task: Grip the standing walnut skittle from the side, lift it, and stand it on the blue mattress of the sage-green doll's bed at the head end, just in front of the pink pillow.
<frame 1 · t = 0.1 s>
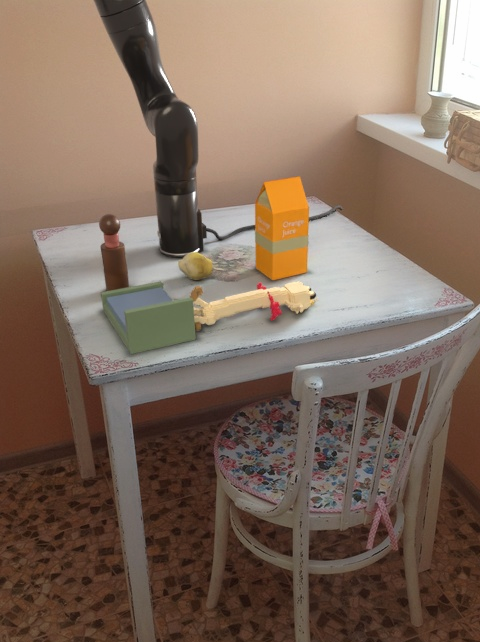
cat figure: (255, 316, 135), on the table
skittle: (118, 291, 143), on the table
orange juice: (281, 270, 153), on the table
fruit: (201, 277, 149), on the table
bed: (147, 324, 131), on the table
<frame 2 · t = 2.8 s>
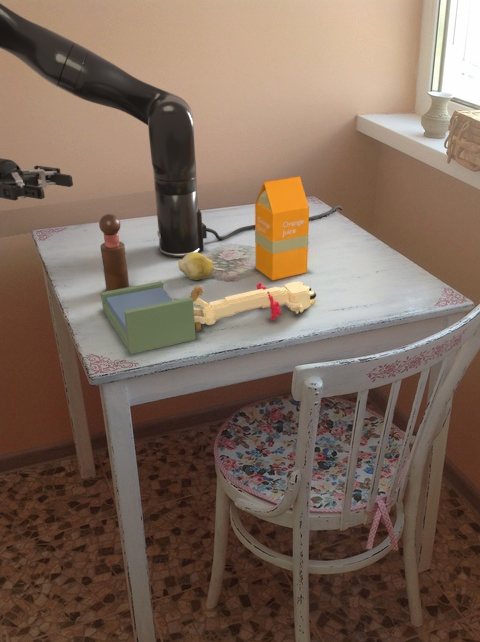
hand: (57, 187, 135), 20 cm above the table, tool horizontal, fingers open, 8 cm apart
nothing on the table moved.
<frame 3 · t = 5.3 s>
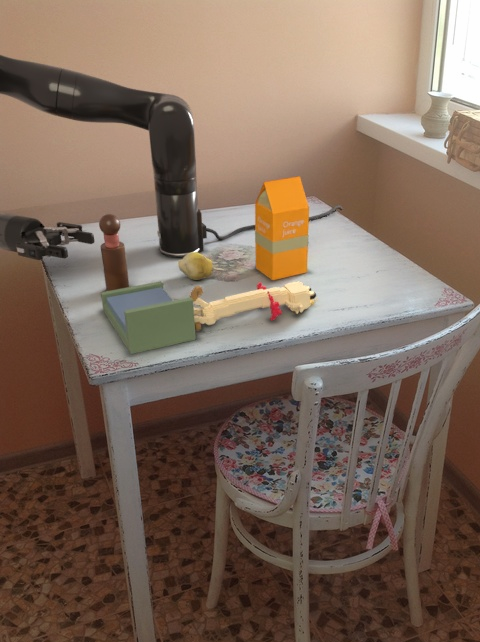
hand: (80, 245, 141), 9 cm above the table, tool horizontal, fingers open, 8 cm apart
nothing on the table moved.
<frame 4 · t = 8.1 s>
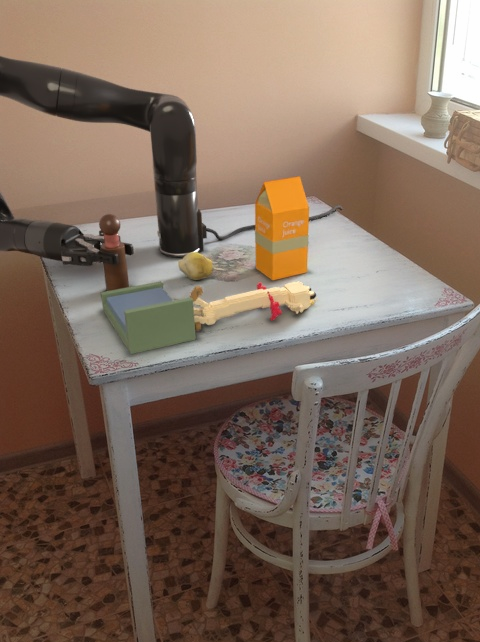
hand: (124, 254, 137), 9 cm above the table, tool horizontal, fingers closed on skittle, 4 cm apart
skittle: (118, 291, 143), on the table, touching gripper
everything else where it was.
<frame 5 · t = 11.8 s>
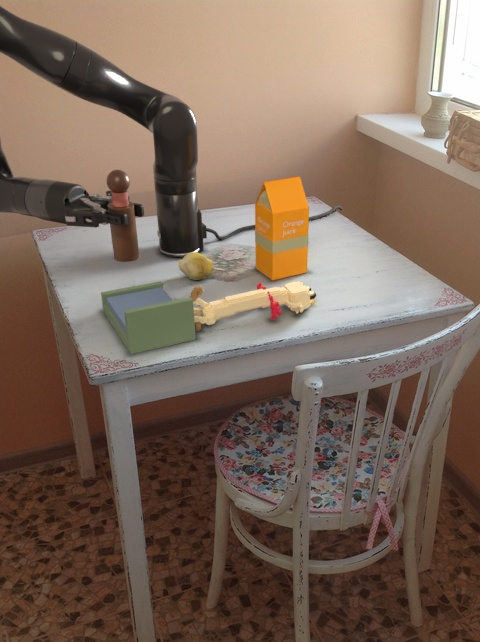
hand: (134, 215, 125), 19 cm above the table, tool horizontal, fingers closed on skittle, 4 cm apart
skittle: (126, 257, 130), point 11 cm above the table, touching gripper
everything else where it was.
when the fingers open (12 cm above the table, at t = 15.7 s): skittle stays where it is, resting on bed.
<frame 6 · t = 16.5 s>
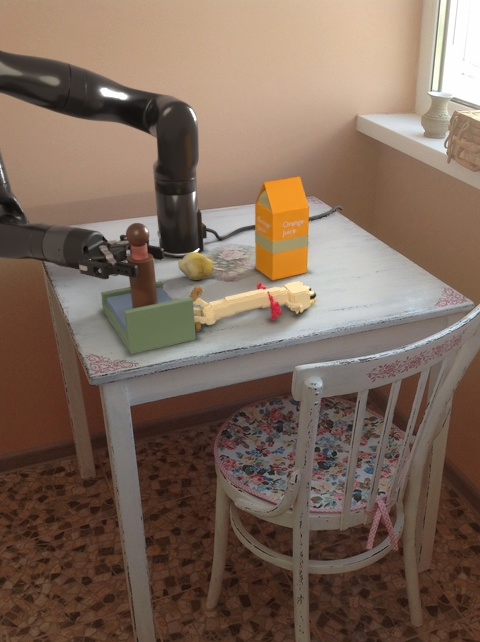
hand: (150, 262, 123), 13 cm above the table, tool horizontal, fingers open, 8 cm apart
skittle: (145, 308, 129), point 3 cm above the table, touching bed
everything else where it was.
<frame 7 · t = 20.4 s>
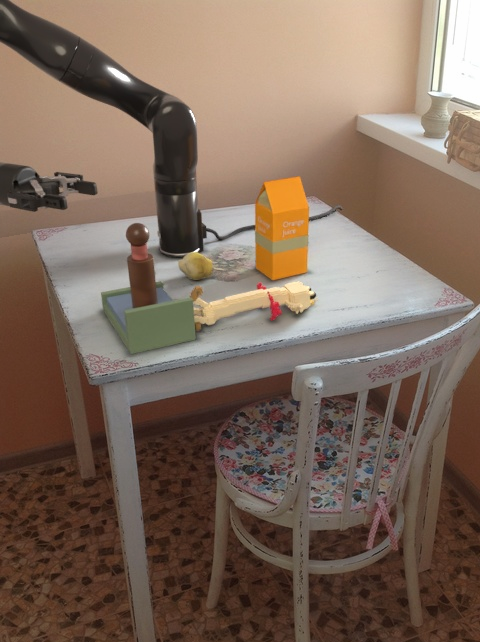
hand: (81, 196, 122), 23 cm above the table, tool horizontal, fingers open, 8 cm apart
nothing on the table moved.
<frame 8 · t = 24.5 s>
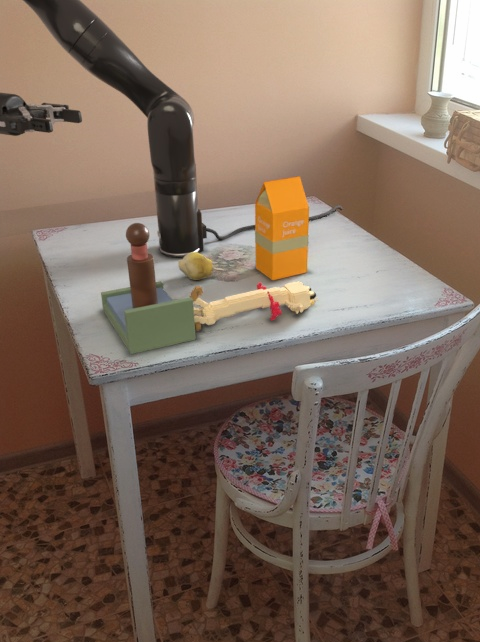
hand: (66, 121, 130), 32 cm above the table, tool horizontal, fingers open, 8 cm apart
nothing on the table moved.
at the end: skittle 0.3 cm off-centre on the bed, point 3.5 cm above the bed's base; skittle tilted 0°; the gripper is holding nothing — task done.
